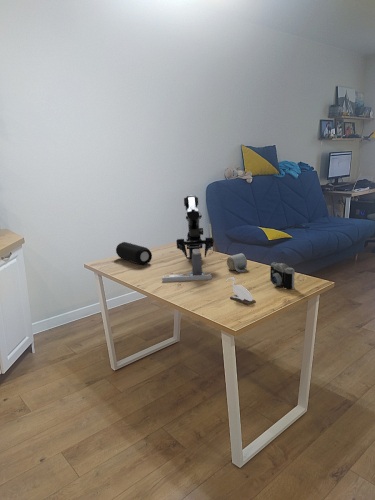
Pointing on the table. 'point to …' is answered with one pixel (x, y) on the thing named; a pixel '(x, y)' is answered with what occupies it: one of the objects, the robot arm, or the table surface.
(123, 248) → the portable speaker
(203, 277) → the white tray
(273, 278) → the camera
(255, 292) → the table surface
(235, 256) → the ceramic mug
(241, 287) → the figurine
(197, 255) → the grey upright cylinder
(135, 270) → the table surface
